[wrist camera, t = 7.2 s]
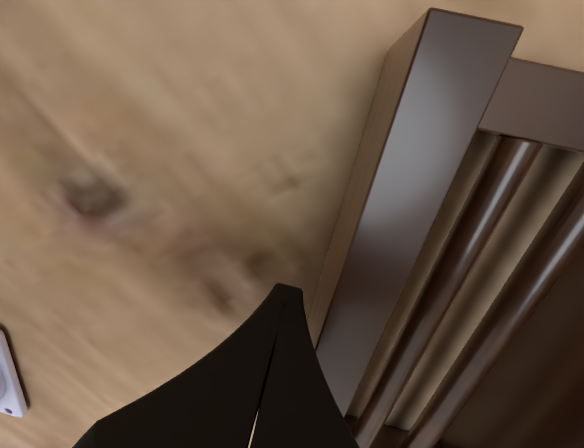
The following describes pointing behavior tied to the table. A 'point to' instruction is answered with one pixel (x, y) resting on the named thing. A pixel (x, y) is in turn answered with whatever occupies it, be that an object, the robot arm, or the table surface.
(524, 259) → the rack
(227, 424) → the robot arm
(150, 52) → the table surface
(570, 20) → the table surface
